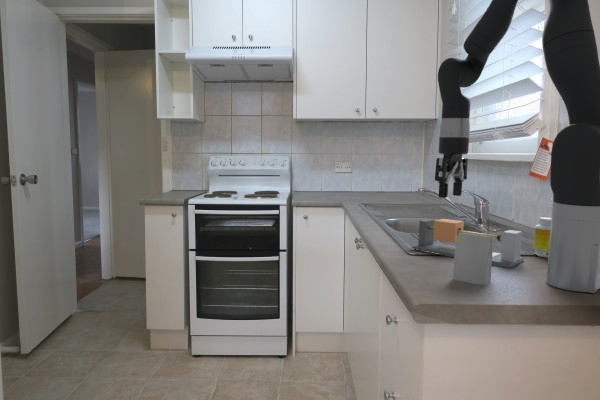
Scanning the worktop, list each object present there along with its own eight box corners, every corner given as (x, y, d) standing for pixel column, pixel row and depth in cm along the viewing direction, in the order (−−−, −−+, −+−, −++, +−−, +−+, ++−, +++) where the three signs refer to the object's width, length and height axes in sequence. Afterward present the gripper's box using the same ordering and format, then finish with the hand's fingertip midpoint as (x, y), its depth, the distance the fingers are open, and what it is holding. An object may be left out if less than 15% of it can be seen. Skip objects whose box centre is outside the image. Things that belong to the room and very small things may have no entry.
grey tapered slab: (485, 285, 90) (489, 238, 89) (452, 279, 94) (455, 233, 93) (490, 281, 93) (493, 235, 92) (458, 275, 97) (461, 231, 96)
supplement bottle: (549, 259, 114) (553, 220, 113) (529, 254, 119) (531, 217, 118) (560, 256, 117) (564, 219, 116) (539, 252, 122) (542, 216, 121)
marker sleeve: (462, 240, 120) (463, 221, 119) (454, 242, 116) (455, 223, 116) (442, 236, 124) (443, 218, 124) (433, 239, 120) (434, 220, 120)
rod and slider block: (523, 261, 112) (525, 230, 111) (509, 268, 105) (511, 235, 104) (429, 244, 130) (430, 217, 129) (412, 249, 122) (413, 221, 122)
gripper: (456, 135, 109) (451, 199, 111) (478, 137, 119) (474, 196, 121) (428, 135, 114) (424, 197, 116) (452, 137, 125) (448, 193, 127)
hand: (450, 196), depth 119 cm, fingers open, 8 cm apart
